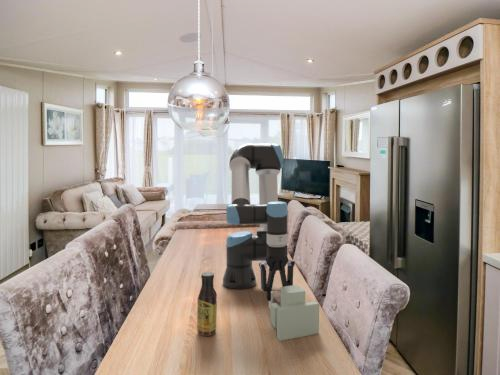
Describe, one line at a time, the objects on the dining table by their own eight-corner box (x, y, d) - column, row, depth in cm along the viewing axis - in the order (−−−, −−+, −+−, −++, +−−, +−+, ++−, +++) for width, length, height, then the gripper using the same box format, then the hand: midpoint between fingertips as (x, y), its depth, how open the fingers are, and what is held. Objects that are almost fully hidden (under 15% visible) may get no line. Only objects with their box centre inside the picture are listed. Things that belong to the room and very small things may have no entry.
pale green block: (265, 324, 121) (265, 284, 120) (301, 317, 126) (301, 279, 125) (279, 340, 110) (279, 297, 109) (318, 333, 115) (319, 291, 114)
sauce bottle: (193, 333, 115) (192, 273, 114) (206, 326, 120) (206, 269, 119) (207, 339, 111) (206, 278, 110) (221, 331, 116) (220, 272, 115)
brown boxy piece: (268, 306, 131) (268, 290, 131) (277, 305, 133) (278, 288, 132) (282, 322, 120) (282, 304, 119) (292, 320, 122) (293, 303, 121)
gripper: (258, 249, 121) (258, 315, 122) (303, 245, 126) (302, 308, 128) (251, 244, 128) (251, 307, 129) (293, 240, 133) (293, 300, 135)
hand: (277, 307), depth 129 cm, fingers closed on brown boxy piece, 4 cm apart
